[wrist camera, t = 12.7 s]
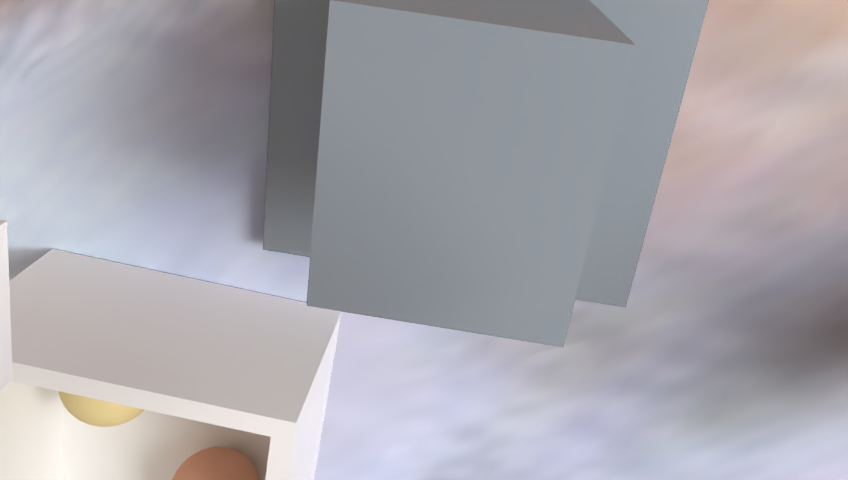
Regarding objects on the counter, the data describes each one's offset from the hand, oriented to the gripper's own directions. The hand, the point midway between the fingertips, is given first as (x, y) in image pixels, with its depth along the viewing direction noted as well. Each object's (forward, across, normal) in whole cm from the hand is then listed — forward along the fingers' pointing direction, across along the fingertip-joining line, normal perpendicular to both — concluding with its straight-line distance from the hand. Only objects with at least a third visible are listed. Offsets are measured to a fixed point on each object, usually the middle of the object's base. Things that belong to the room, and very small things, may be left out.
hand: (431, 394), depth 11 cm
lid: (+20, 0, -1) cm, 20 cm away
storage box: (+19, +10, +16) cm, 27 cm away
